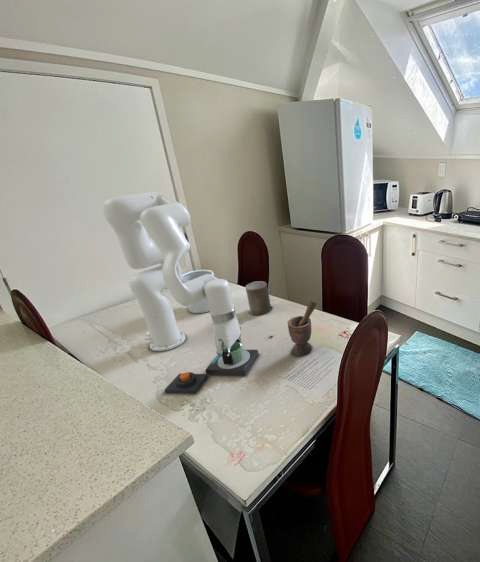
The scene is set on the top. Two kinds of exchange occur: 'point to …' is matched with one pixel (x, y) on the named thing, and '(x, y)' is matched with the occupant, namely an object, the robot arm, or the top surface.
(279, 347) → the top surface
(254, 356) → the scale
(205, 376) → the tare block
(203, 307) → the utensil holder
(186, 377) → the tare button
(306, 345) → the mortar and pestle
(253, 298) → the pillar candle
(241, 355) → the bowl
